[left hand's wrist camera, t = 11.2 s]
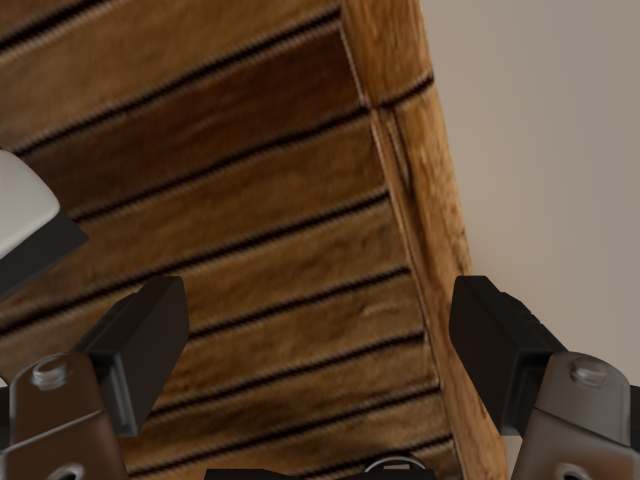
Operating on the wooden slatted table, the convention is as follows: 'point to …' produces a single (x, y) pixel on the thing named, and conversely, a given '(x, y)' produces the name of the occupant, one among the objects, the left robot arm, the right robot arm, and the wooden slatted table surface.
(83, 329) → the wooden slatted table surface
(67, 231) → the bar
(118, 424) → the left robot arm
